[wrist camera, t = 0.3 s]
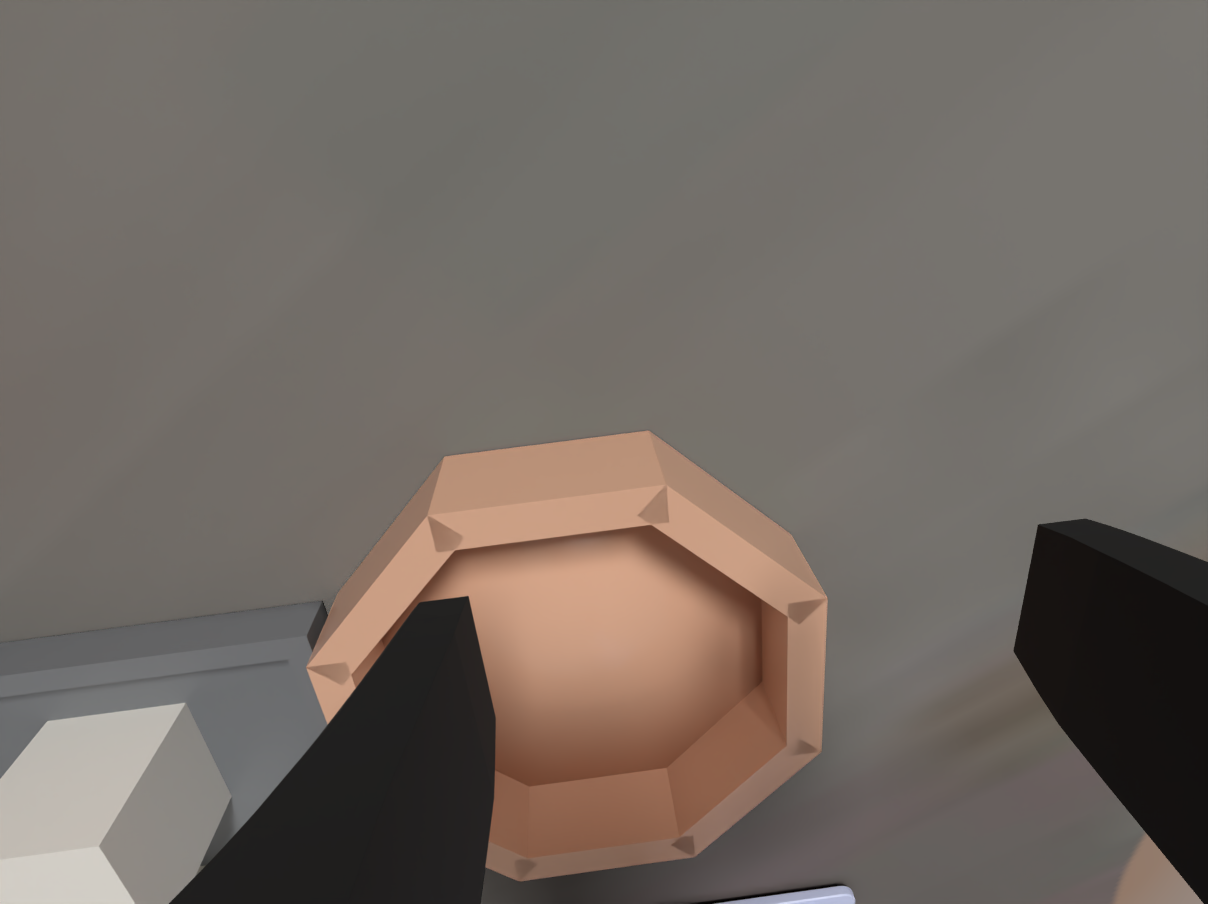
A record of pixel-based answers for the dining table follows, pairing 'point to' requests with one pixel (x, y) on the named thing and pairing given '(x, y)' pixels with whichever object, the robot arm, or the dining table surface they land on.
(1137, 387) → the dining table surface
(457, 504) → the bowl
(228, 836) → the tray
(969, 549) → the dining table surface
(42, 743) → the off-white cube
